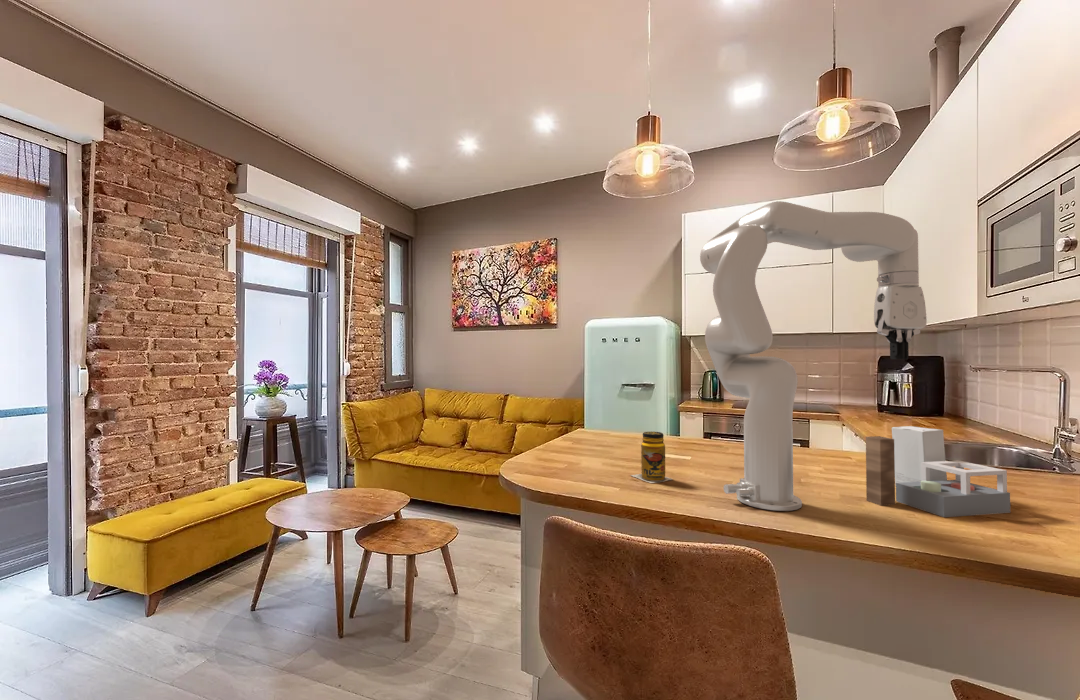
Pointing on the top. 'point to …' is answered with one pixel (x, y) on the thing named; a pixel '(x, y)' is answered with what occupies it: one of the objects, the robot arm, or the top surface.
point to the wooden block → (880, 470)
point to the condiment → (652, 458)
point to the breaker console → (957, 491)
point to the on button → (931, 486)
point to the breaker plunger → (958, 486)
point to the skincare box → (917, 452)
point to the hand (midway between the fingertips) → (899, 359)
